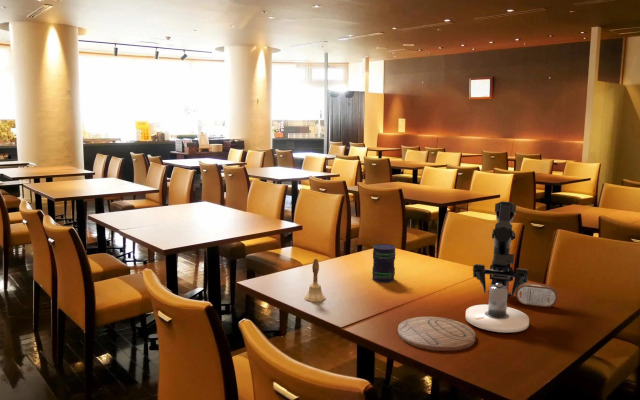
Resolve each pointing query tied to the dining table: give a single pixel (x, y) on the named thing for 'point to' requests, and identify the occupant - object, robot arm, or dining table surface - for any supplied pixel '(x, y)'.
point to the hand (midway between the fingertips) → (498, 294)
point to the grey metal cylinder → (497, 300)
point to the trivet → (436, 334)
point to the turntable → (497, 319)
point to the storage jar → (383, 263)
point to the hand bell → (315, 286)
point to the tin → (536, 294)
